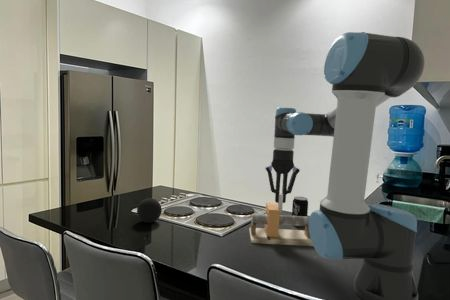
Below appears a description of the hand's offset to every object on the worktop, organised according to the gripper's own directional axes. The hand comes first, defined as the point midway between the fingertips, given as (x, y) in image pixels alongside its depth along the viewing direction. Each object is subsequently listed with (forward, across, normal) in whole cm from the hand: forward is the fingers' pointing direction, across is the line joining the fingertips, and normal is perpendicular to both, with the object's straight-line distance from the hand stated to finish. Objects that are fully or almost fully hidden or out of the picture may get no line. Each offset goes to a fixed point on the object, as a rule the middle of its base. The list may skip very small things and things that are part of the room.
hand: (279, 210), depth 126 cm
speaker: (+11, +52, -11) cm, 54 cm away
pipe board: (+11, -1, 0) cm, 11 cm away
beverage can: (+11, -12, -18) cm, 24 cm away
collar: (+9, +3, 0) cm, 9 cm away
